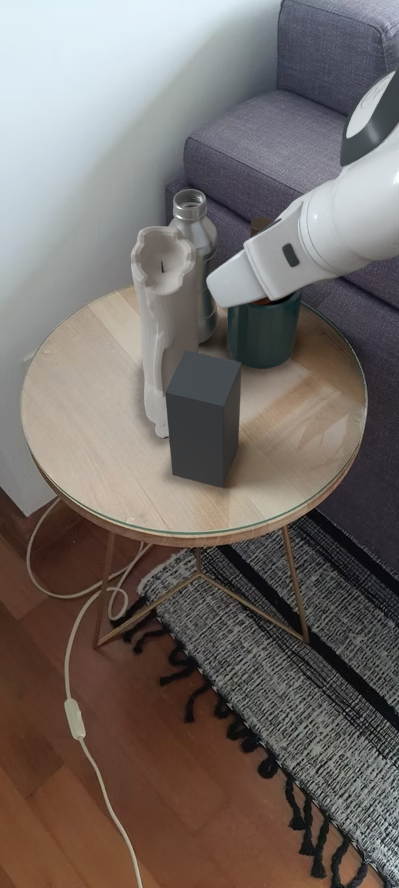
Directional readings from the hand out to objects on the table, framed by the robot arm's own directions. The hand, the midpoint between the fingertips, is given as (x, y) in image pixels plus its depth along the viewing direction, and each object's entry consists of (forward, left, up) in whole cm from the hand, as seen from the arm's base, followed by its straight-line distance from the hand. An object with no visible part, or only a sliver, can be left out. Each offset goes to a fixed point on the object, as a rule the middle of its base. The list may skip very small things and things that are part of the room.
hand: (255, 266), depth 81 cm
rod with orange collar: (-1, 0, -8) cm, 8 cm away
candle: (+7, +12, -12) cm, 18 cm away
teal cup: (-1, +1, -12) cm, 12 cm away
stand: (0, +21, -12) cm, 24 cm away
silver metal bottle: (+8, +1, -12) cm, 14 cm away
